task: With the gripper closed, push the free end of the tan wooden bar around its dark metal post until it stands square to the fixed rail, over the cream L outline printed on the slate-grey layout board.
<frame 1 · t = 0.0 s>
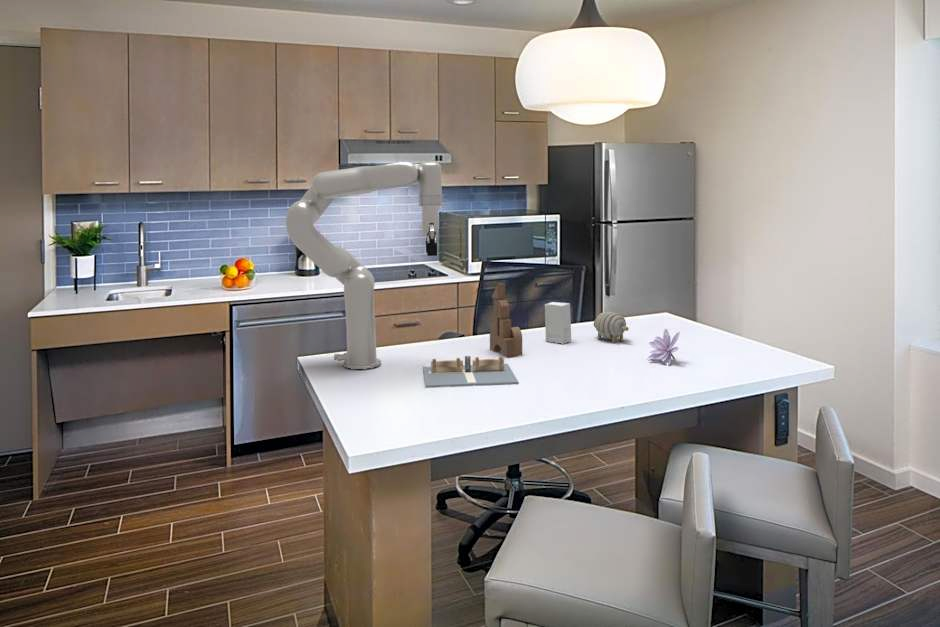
hand: (431, 254, 236), 37 cm above the kitchen island, tool pointing down, fingers open, 9 cm apart
skincare box: (557, 342, 272), on the kitchen island
fence post: (467, 373, 229), resting on layout board
water lily: (661, 362, 241), on the kitchen island
fixed fence rail: (447, 365, 228), on the layout board, point 3 cm above the kitchen island
toy sheep: (610, 341, 273), on the kitchen island
tan wooden bar: (488, 363, 229), point 3 cm above the kitchen island, hinge at 0.0°
wooden toy: (505, 352, 257), on the kitchen island
layout board: (468, 375, 226), on the kitchen island
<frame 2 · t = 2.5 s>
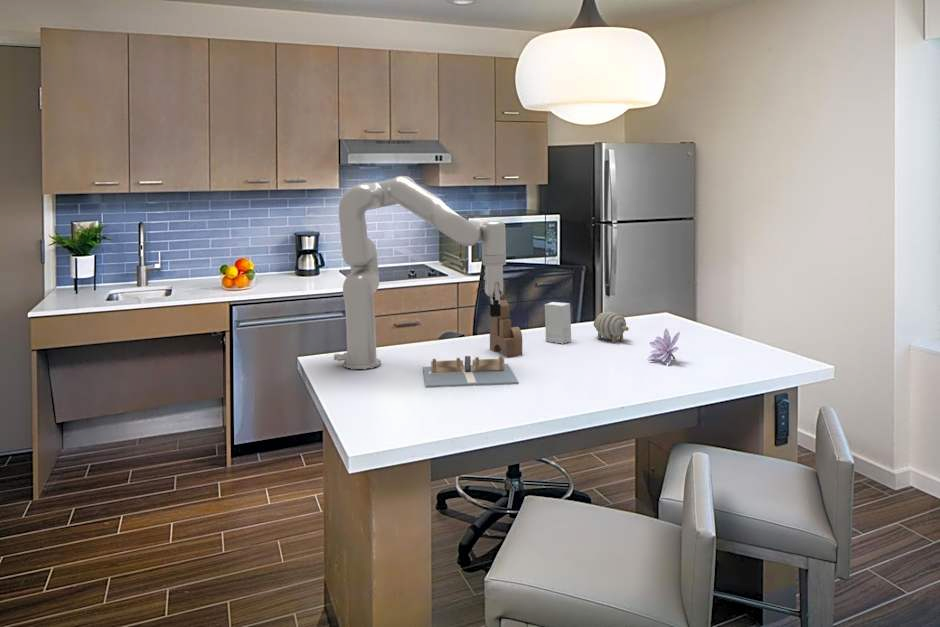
hand: (495, 316, 233), 17 cm above the kitchen island, tool pointing down, fingers closed
nothing on the kitchen island moved.
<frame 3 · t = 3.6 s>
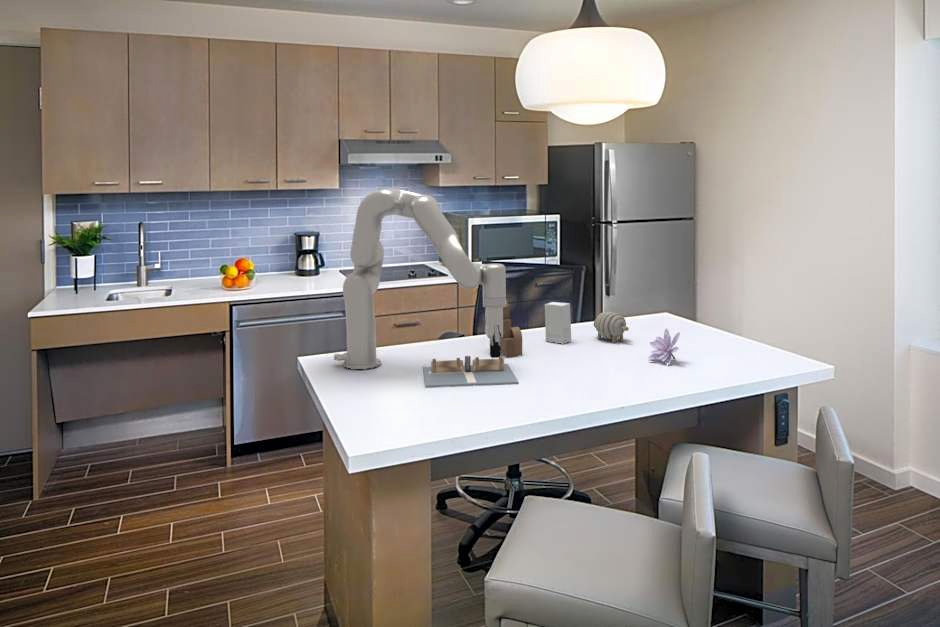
hand: (495, 356, 236), 3 cm above the kitchen island, tool pointing down, fingers closed
nothing on the kitchen island moved.
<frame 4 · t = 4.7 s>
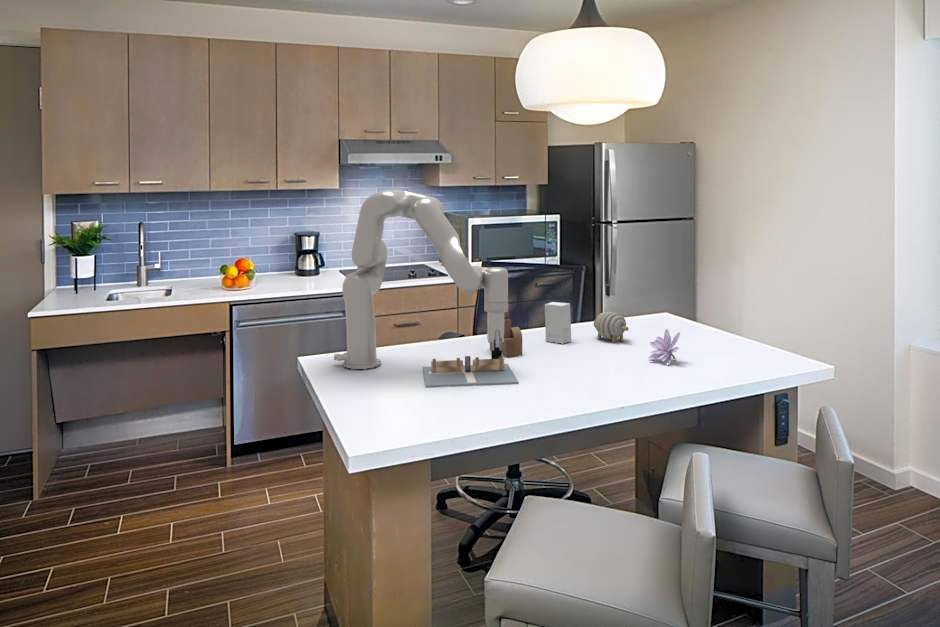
hand: (496, 362, 232), 3 cm above the kitchen island, tool pointing down, fingers closed
tan wooden bar: (488, 363, 229), point 3 cm above the kitchen island, hinge at -0.6°, touching gripper
everything else where it was.
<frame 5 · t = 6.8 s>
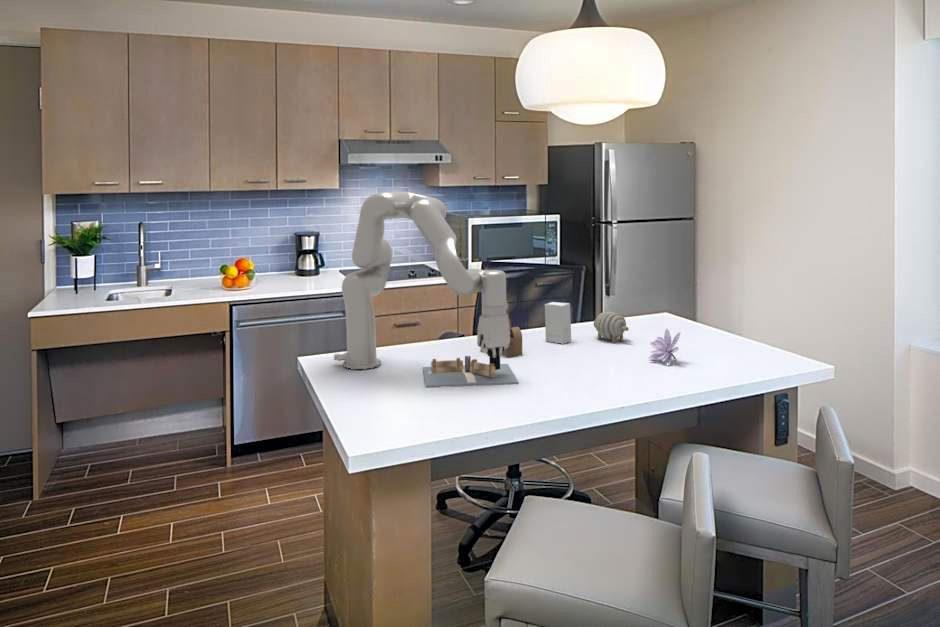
hand: (494, 368, 223), 3 cm above the kitchen island, tool pointing down, fingers closed
tan wooden bar: (482, 368, 224), point 3 cm above the kitchen island, hinge at -51.9°, touching gripper
everything else where it was.
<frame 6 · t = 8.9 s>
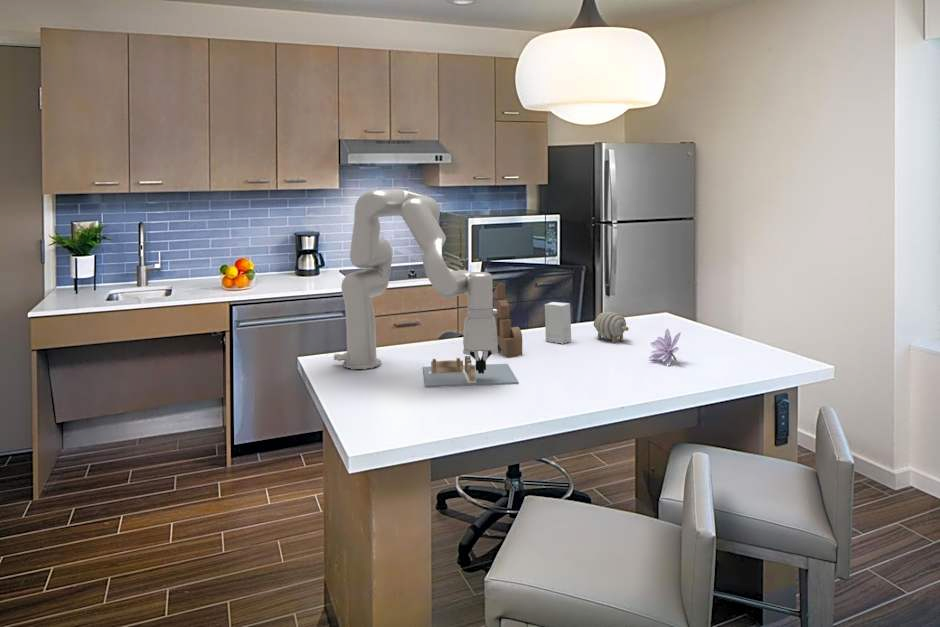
hand: (480, 372, 219), 3 cm above the kitchen island, tool pointing down, fingers closed
tan wooden bar: (470, 369, 222), point 3 cm above the kitchen island, hinge at -88.0°
everything else where it was.
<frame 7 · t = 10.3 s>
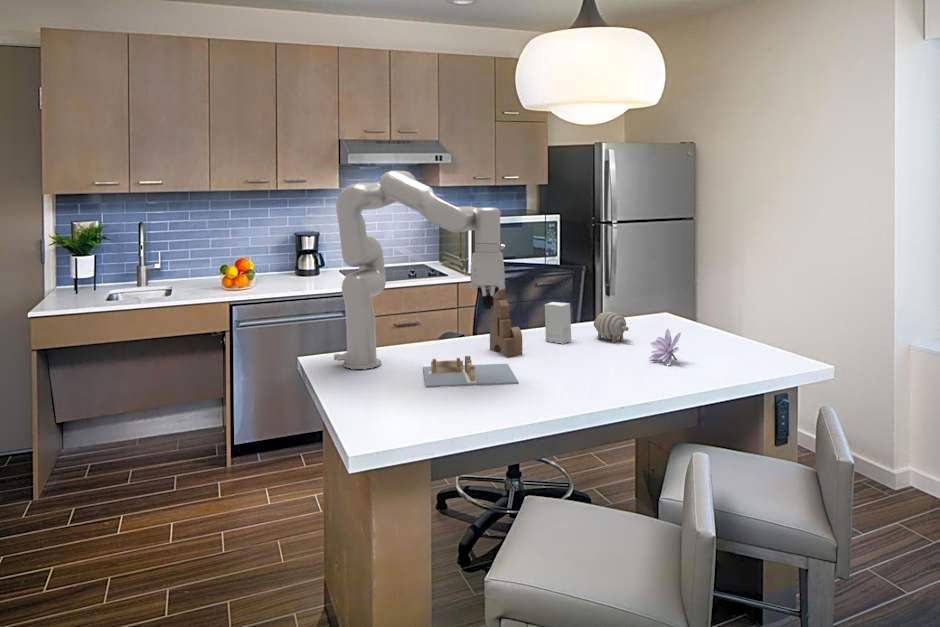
hand: (487, 308, 220), 22 cm above the kitchen island, tool pointing down, fingers closed
nothing on the kitchen island moved.
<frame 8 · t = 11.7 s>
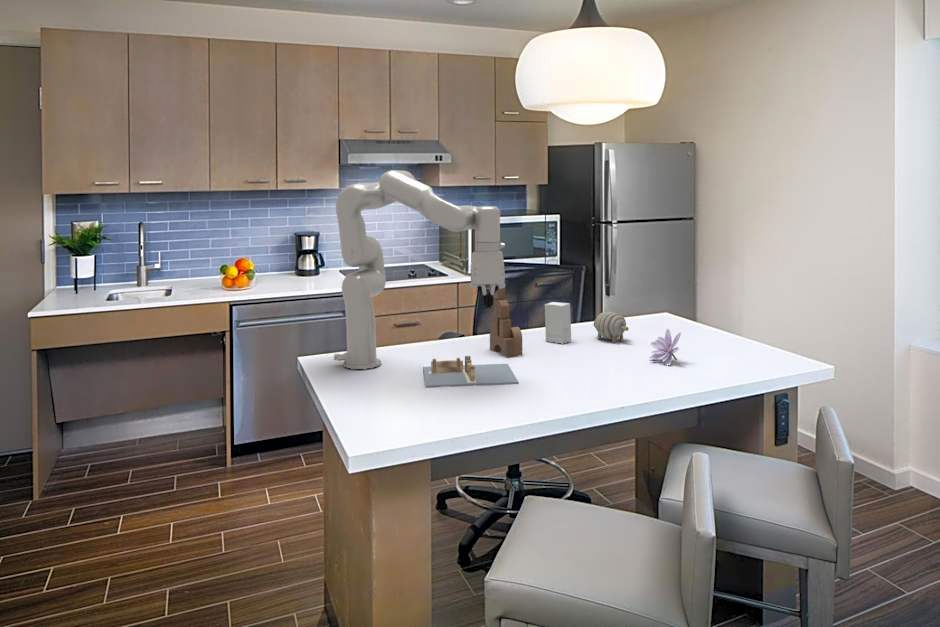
hand: (488, 307, 220), 22 cm above the kitchen island, tool pointing down, fingers closed
nothing on the kitchen island moved.
at the end: tan wooden bar at -88° (first picture: +0°) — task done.
